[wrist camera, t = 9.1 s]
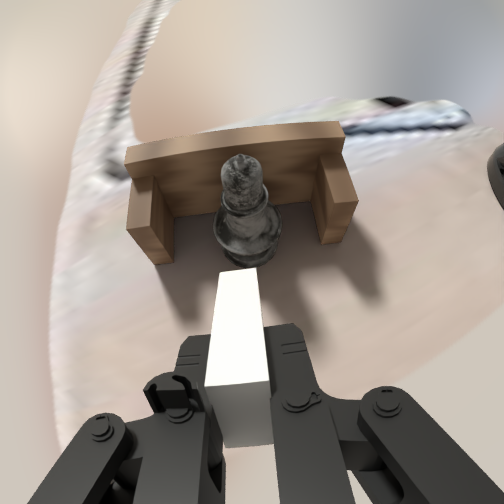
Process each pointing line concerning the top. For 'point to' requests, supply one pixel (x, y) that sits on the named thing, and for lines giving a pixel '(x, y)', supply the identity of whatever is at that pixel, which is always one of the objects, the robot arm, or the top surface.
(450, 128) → the top surface
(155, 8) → the top surface
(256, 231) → the grey chess piece
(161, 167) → the brown wooden u-shaped block
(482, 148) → the top surface
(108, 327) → the top surface
